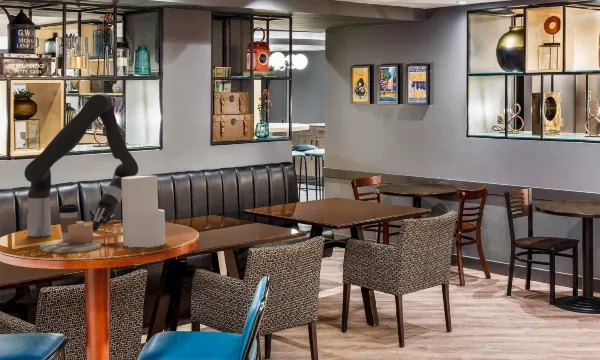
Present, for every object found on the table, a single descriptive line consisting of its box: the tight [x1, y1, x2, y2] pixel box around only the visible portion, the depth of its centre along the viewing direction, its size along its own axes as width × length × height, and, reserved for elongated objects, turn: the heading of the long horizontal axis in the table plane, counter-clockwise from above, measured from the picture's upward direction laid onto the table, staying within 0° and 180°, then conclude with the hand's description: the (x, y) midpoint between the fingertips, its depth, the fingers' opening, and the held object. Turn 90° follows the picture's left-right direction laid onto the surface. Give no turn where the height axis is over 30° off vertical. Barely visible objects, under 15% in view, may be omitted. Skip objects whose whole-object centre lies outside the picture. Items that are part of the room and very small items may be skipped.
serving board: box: [39, 239, 102, 254], centre depth 340 cm, size 24×24×2 cm
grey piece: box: [121, 175, 166, 248], centre depth 347 cm, size 17×17×28 cm
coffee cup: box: [58, 204, 79, 241], centre depth 360 cm, size 8×8×15 cm
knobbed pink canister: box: [68, 220, 94, 244], centre depth 345 cm, size 10×10×9 cm
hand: (93, 230), depth 352 cm, fingers closed
